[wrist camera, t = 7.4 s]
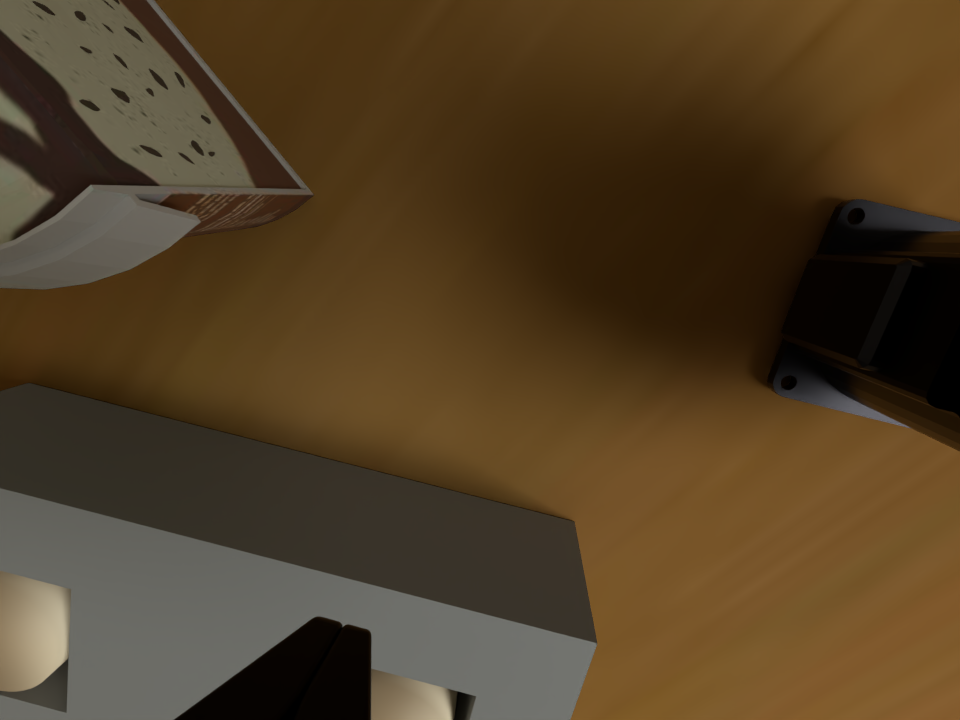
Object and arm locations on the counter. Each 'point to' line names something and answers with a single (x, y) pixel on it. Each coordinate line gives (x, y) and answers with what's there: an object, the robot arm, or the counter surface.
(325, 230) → the counter surface
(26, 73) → the food container
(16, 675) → the birch peg
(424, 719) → the birch peg
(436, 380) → the counter surface
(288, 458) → the grey peg board
